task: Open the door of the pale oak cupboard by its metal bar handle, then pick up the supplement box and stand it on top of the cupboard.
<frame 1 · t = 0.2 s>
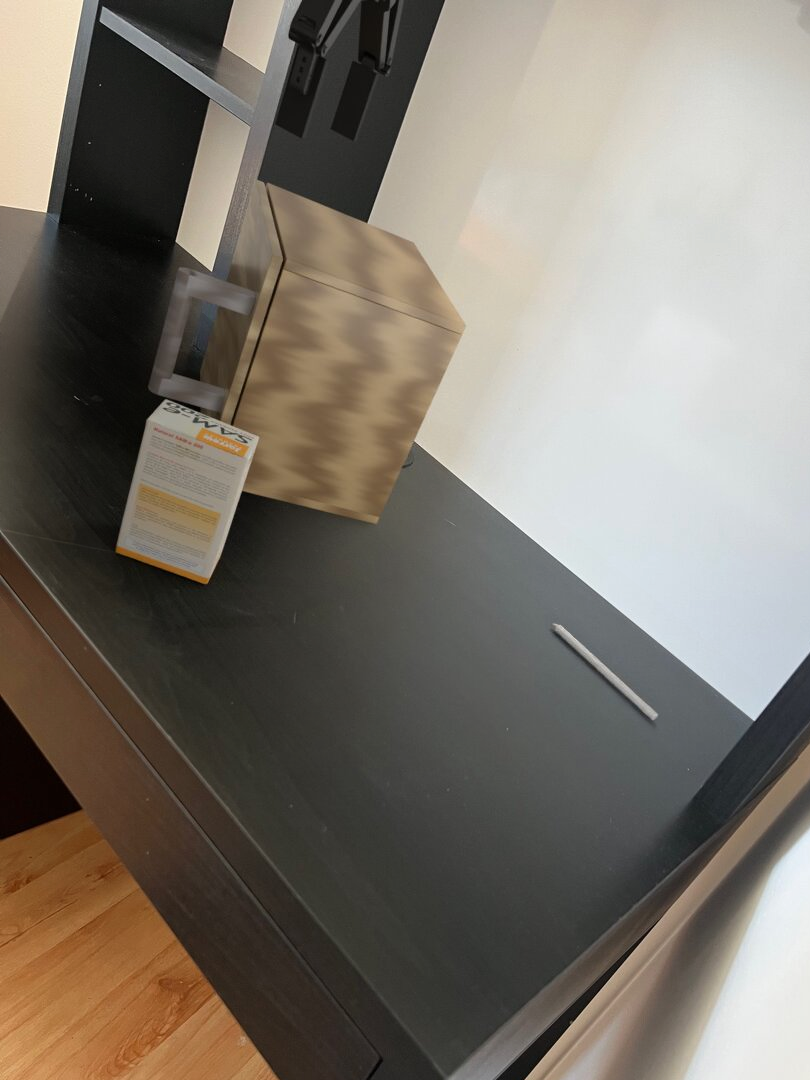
hand: (318, 134, 81), 32 cm above the table, tool pointing down, fingers open, 13 cm apart
cupboard: (288, 446, 100), on the table
supplement box: (167, 557, 74), on the table
pencil: (598, 672, 90), on the table
cupboard door: (201, 314, 88), point 12 cm above the table, hinge at 0.0°
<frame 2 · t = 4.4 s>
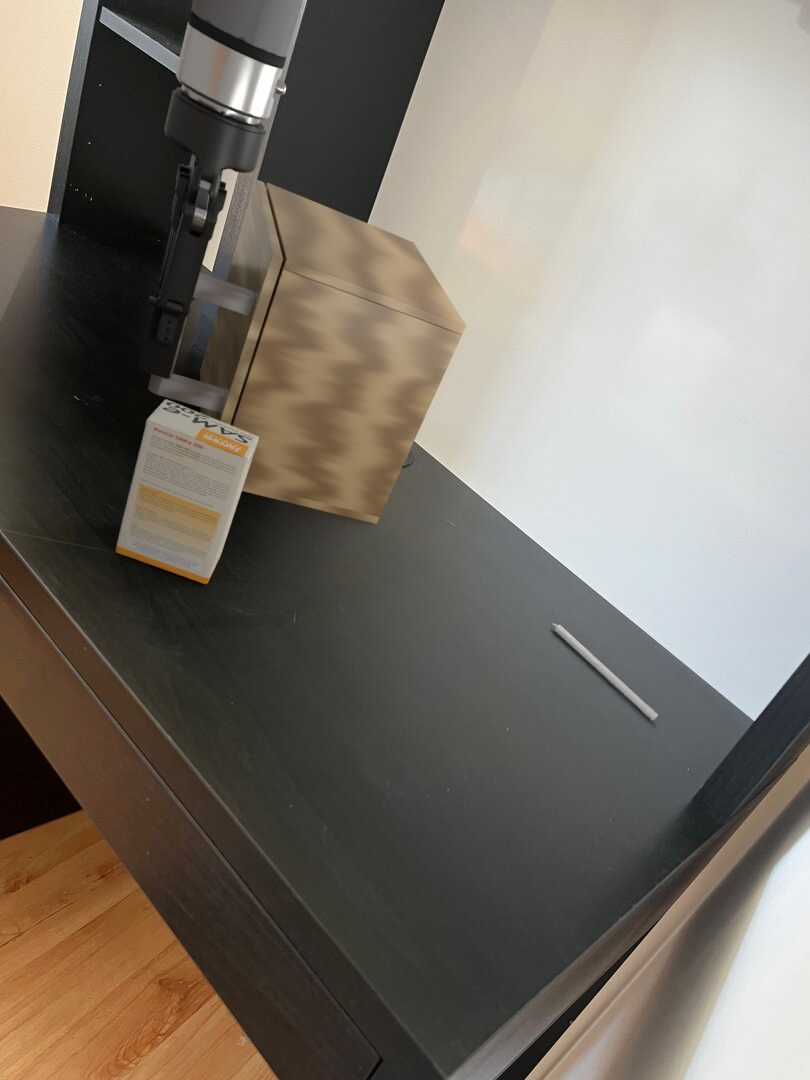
hand: (154, 366, 80), 9 cm above the table, tool pointing down, fingers closed on cupboard door, 2 cm apart
cupboard door: (201, 314, 88), point 12 cm above the table, hinge at 0.0°, touching gripper
everything else where it was.
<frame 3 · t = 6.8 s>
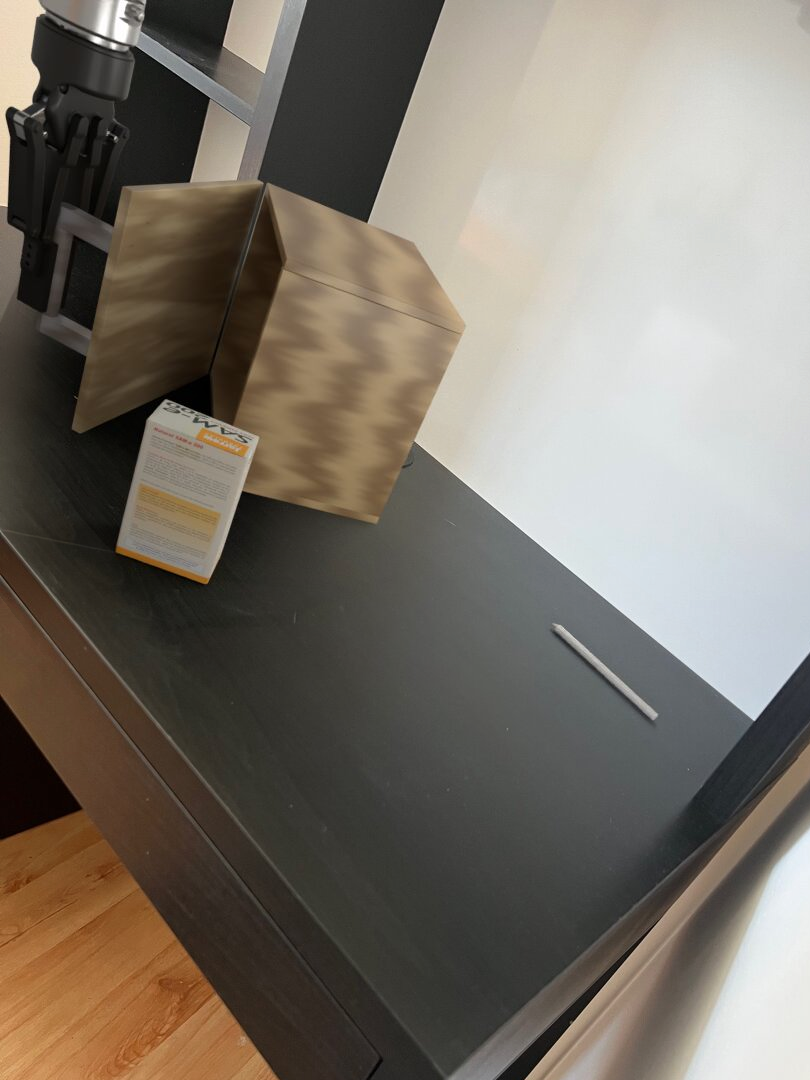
hand: (40, 303, 81), 9 cm above the table, tool pointing down, fingers closed on cupboard door, 2 cm apart
cupboard door: (143, 283, 88), point 12 cm above the table, hinge at 29.3°, touching gripper
everything else where it was.
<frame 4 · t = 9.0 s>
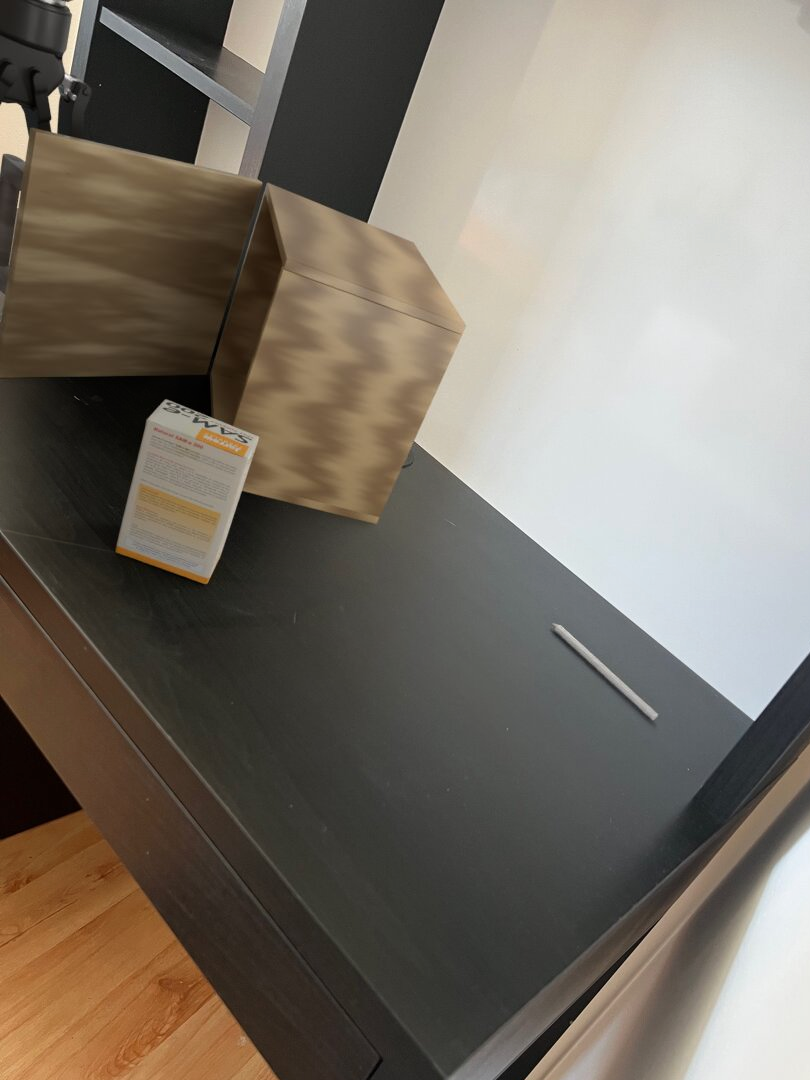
cupboard door: (115, 257, 90), point 12 cm above the table, hinge at 53.4°
everything else where it was.
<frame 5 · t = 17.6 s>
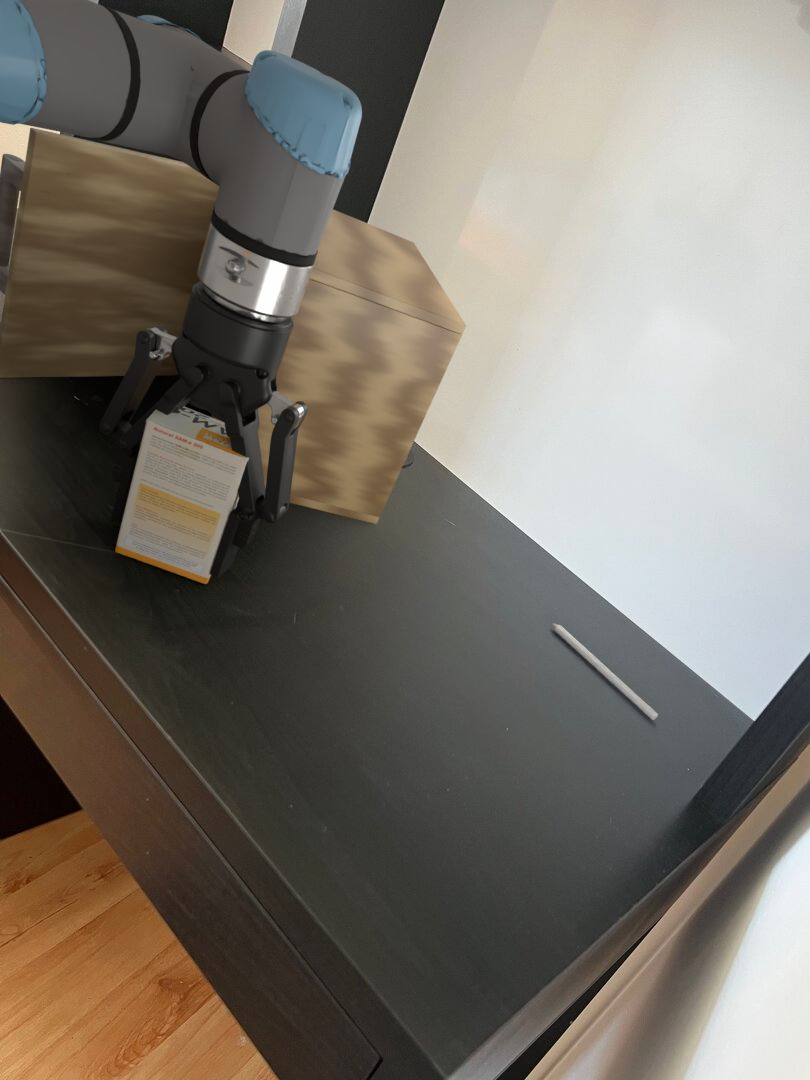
hand: (172, 543, 73), 1 cm above the table, tool pointing down, fingers closed on supplement box, 9 cm apart
supplement box: (167, 557, 74), on the table, touching gripper
everything else where it was.
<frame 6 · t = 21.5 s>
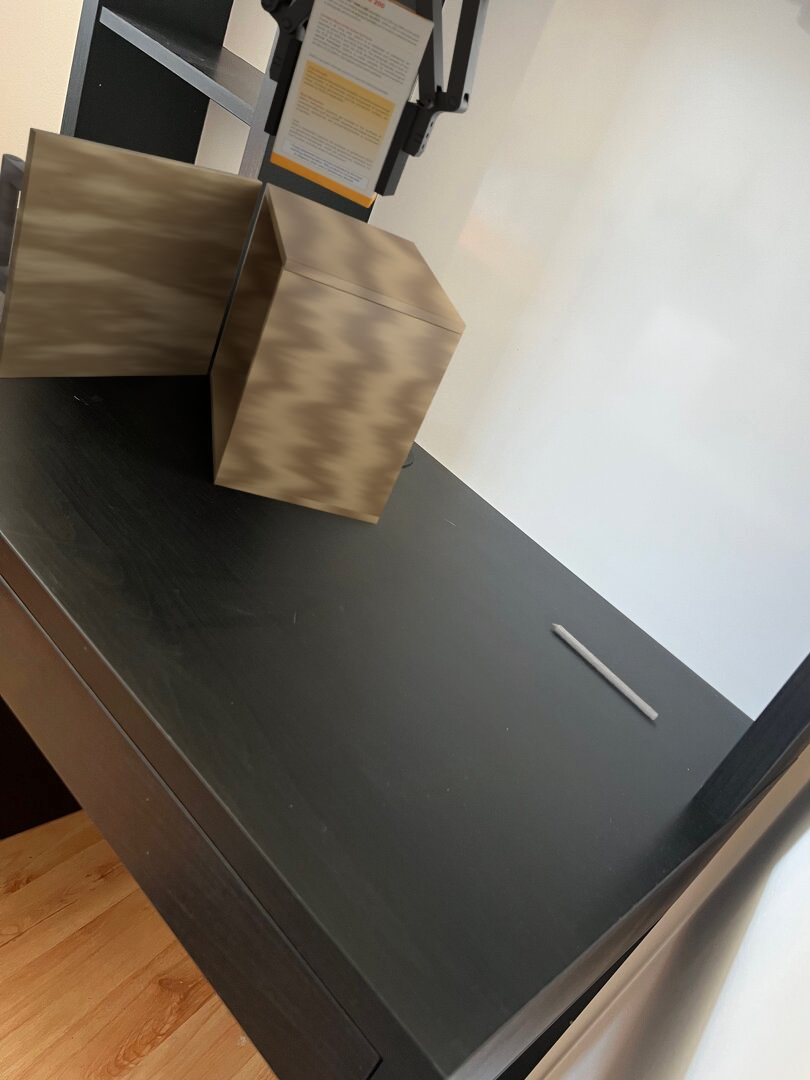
hand: (329, 163, 65), 33 cm above the table, tool pointing down, fingers closed on supplement box, 9 cm apart
supplement box: (321, 184, 66), point 32 cm above the table, touching gripper
everything else where it was.
when the fingers open (25 cm above the table, at t = 25.6 s): supplement box stays where it is, resting on cupboard.
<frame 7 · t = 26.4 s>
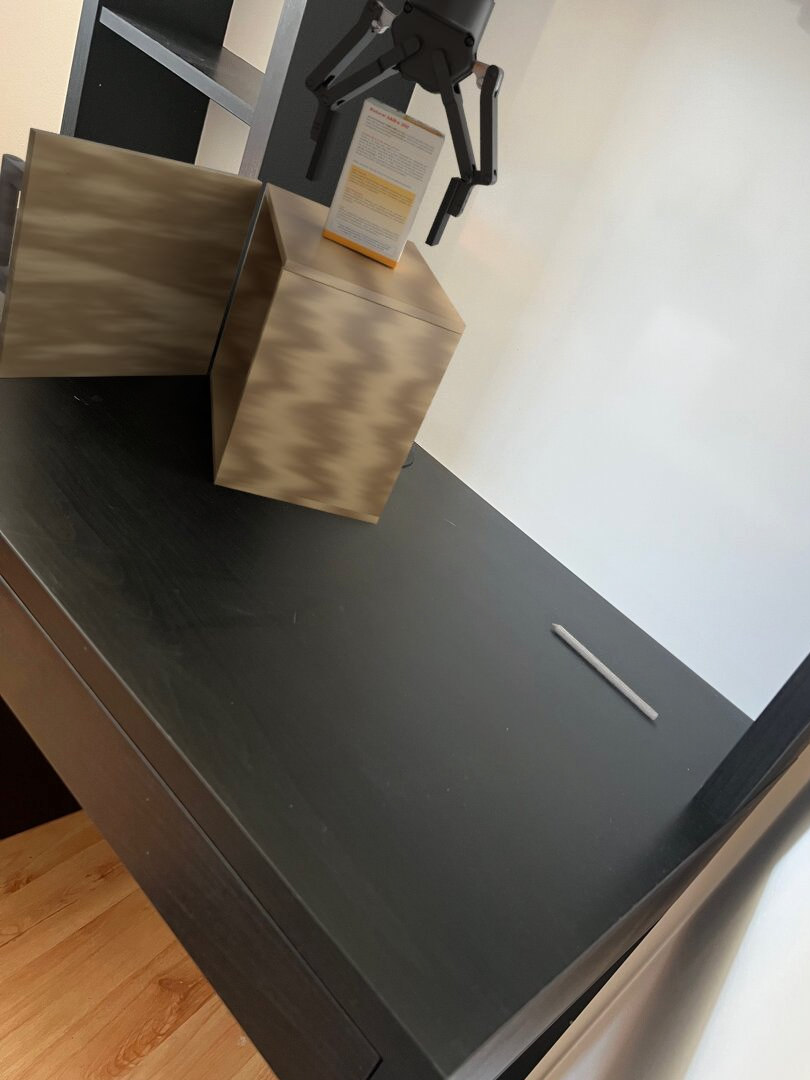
hand: (372, 212, 86), 28 cm above the table, tool pointing down, fingers open, 13 cm apart
supplement box: (359, 250, 88), point 24 cm above the table, touching cupboard
everything else where it was.
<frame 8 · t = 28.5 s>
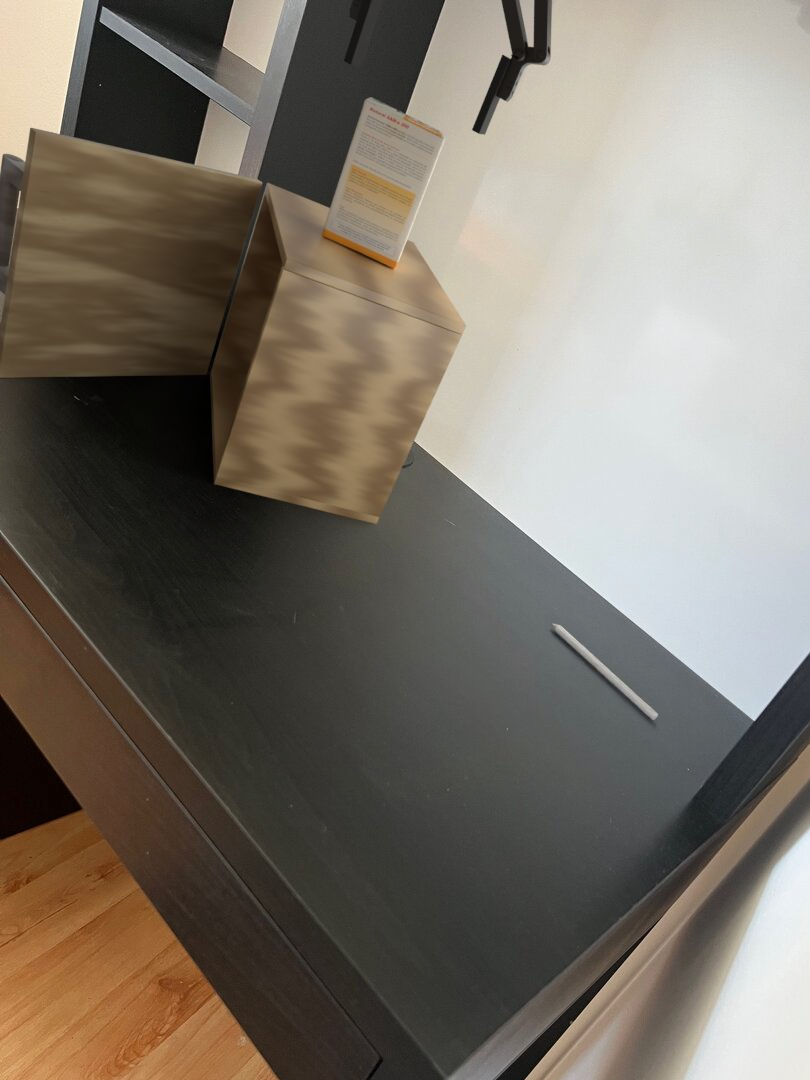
hand: (415, 98, 80), 39 cm above the table, tool pointing down, fingers open, 13 cm apart
nothing on the table moved.
at the end: cupboard door at +53° (first picture: +0°); supplement box inside the target area on the cupboard (0.0 cm from its centre), point 23.8 cm above the cupboard's base; supplement box tilted 0° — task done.
